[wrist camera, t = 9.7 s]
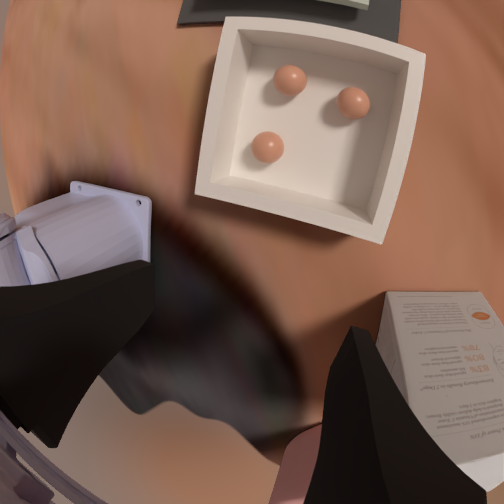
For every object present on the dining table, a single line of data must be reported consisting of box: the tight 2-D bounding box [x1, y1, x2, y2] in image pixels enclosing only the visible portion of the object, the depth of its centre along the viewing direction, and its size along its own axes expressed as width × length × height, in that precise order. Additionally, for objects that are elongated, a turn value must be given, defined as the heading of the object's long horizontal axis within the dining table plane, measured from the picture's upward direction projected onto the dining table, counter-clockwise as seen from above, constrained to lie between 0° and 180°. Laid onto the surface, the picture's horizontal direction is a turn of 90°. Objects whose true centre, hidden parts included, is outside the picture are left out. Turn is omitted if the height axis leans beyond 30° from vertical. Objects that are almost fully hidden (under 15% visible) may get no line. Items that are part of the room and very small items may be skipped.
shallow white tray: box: [195, 17, 426, 245], centre depth 13 cm, size 10×10×4 cm
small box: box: [376, 291, 504, 492], centre depth 12 cm, size 8×6×13 cm
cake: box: [269, 424, 322, 504], centre depth 19 cm, size 20×20×14 cm
